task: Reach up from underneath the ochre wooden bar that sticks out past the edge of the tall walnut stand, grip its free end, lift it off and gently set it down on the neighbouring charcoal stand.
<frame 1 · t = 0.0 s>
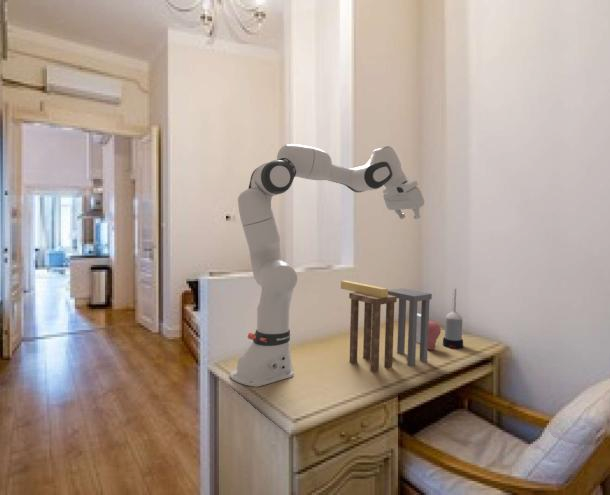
hand: (410, 218, 154), 54 cm above the table, tool tilted 30°, fingers open, 8 cm apart
light bulb: (430, 350, 161), on the table
walnut stand: (370, 364, 143), on the table
charcoal stand: (405, 358, 150), on the table
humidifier: (452, 346, 168), on the table
ochre bar: (362, 292, 146), point 26 cm above the table, touching walnut stand
skincare box: (418, 341, 173), on the table
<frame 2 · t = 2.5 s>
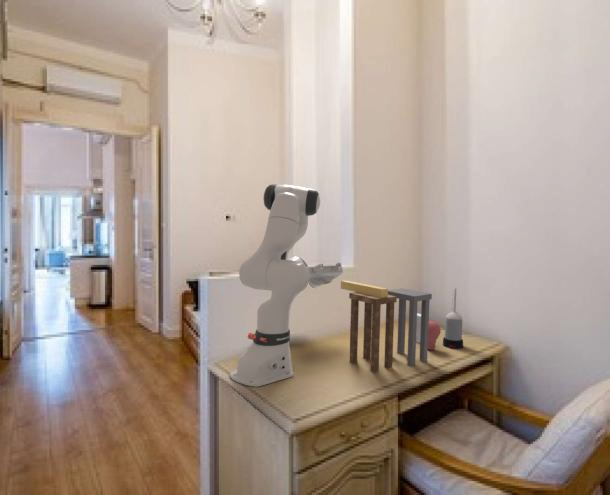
hand: (331, 264, 161), 35 cm above the table, tool pointing upward, fingers open, 8 cm apart
nothing on the table moved.
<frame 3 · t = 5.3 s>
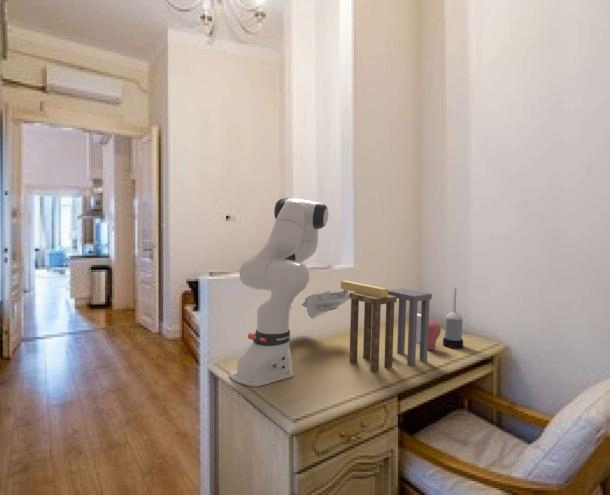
hand: (338, 291, 157), 24 cm above the table, tool pointing upward, fingers open, 8 cm apart
nothing on the table moved.
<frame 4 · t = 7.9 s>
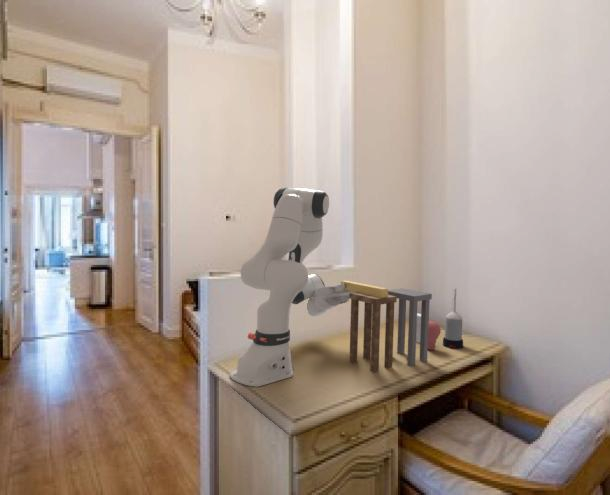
hand: (349, 284, 152), 28 cm above the table, tool pointing upward, fingers closed on ochre bar, 3 cm apart
ochre bar: (362, 292, 146), point 26 cm above the table, touching gripper, walnut stand
everything else where it was.
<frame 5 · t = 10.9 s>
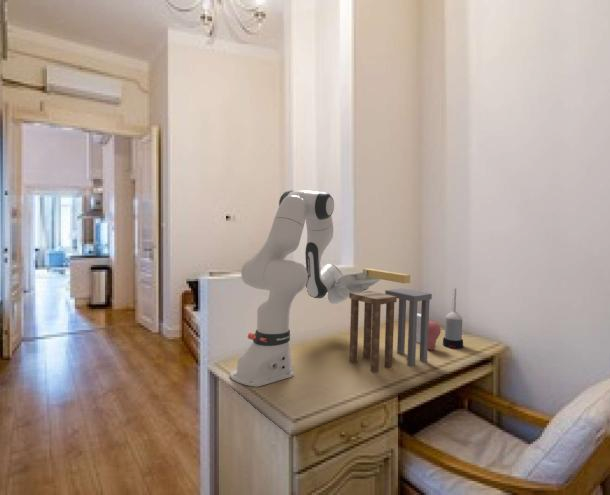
hand: (371, 271, 158), 32 cm above the table, tool pointing upward, fingers closed on ochre bar, 3 cm apart
ochre bar: (385, 279, 152), point 30 cm above the table, touching gripper
everything else where it was.
when the fingers open (29 cm above the table, at t = 14.1 s): ochre bar drops 1 cm, resting on charcoal stand.
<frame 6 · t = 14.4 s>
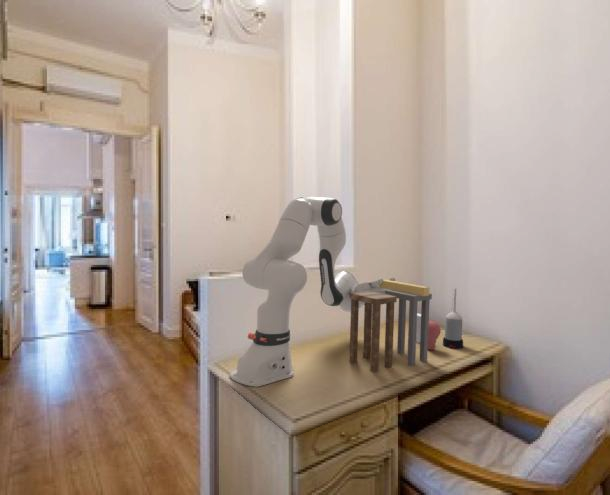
hand: (388, 280, 157), 29 cm above the table, tool pointing upward, fingers open, 5 cm apart
ochre bar: (402, 291, 151), point 26 cm above the table, touching charcoal stand
everything else where it was.
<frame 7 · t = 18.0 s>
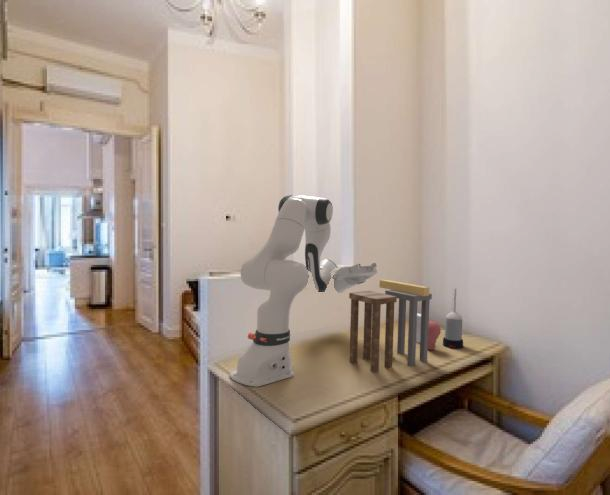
hand: (367, 265, 166), 34 cm above the table, tool pointing upward, fingers open, 8 cm apart
nothing on the table moved.
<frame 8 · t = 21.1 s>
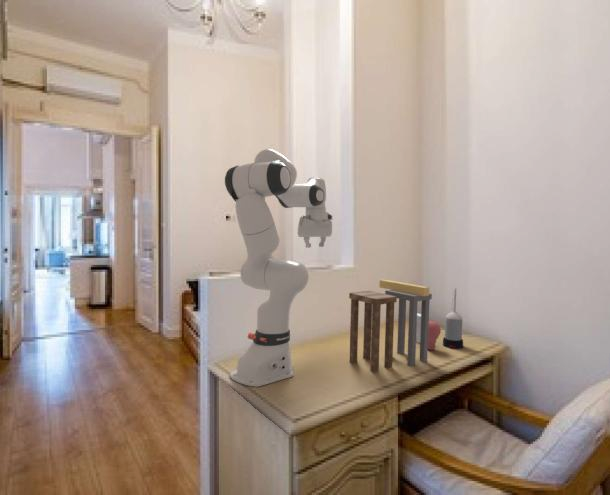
hand: (314, 247, 171), 41 cm above the table, tool pointing down, fingers open, 8 cm apart
nothing on the table moved.
at the end: ochre bar inside the target area on the charcoal stand (0.1 cm from its centre), point 26.0 cm above the charcoal stand's base; ochre bar touching charcoal stand; the gripper is holding nothing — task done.
